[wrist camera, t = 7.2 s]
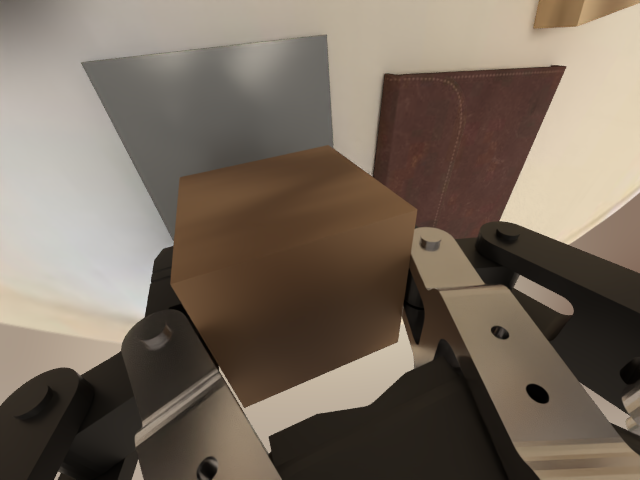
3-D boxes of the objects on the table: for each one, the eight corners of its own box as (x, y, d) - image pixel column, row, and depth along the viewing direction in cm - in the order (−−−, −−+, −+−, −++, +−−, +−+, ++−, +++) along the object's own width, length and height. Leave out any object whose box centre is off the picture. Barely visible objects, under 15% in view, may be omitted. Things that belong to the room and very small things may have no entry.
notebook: (548, 64, 21) (575, 66, 20) (469, 260, 33) (483, 270, 31) (379, 72, 17) (397, 75, 15) (357, 294, 29) (366, 308, 27)
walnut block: (328, 145, 10) (417, 209, 6) (335, 253, 13) (397, 342, 9) (179, 177, 8) (170, 283, 5) (226, 288, 12) (244, 407, 8)
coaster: (322, 34, 14) (326, 34, 14) (334, 213, 21) (337, 216, 21) (85, 61, 12) (81, 62, 11) (184, 255, 18) (183, 260, 18)
